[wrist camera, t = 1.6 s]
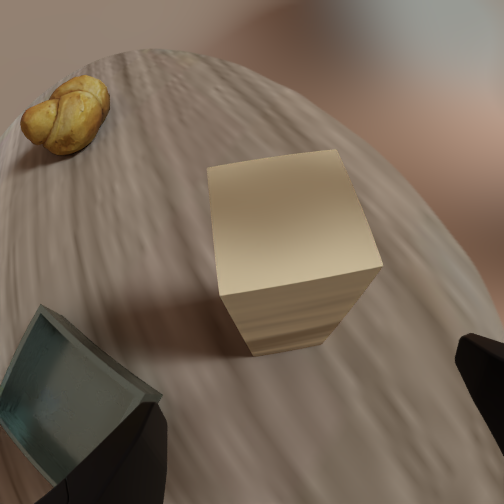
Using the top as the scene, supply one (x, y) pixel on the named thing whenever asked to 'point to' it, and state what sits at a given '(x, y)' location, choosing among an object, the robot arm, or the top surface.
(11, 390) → the grey green tray
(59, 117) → the bread roll
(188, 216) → the top surface
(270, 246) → the tall beech block
